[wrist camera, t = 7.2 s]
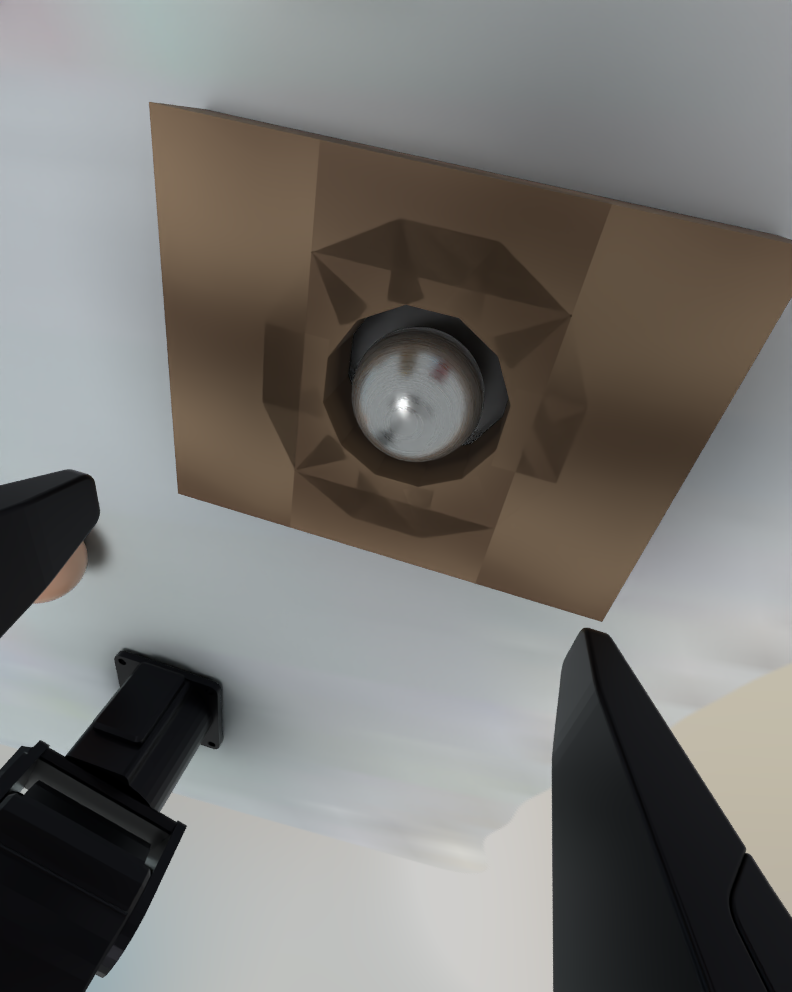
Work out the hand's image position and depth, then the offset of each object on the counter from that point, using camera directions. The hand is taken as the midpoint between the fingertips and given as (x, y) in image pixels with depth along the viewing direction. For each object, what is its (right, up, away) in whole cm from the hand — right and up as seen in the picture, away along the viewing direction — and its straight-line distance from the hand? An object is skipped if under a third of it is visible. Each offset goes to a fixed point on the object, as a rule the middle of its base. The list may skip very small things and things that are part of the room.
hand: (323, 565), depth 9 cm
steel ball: (+2, +4, +7) cm, 8 cm away
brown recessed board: (+2, +5, +8) cm, 10 cm away
